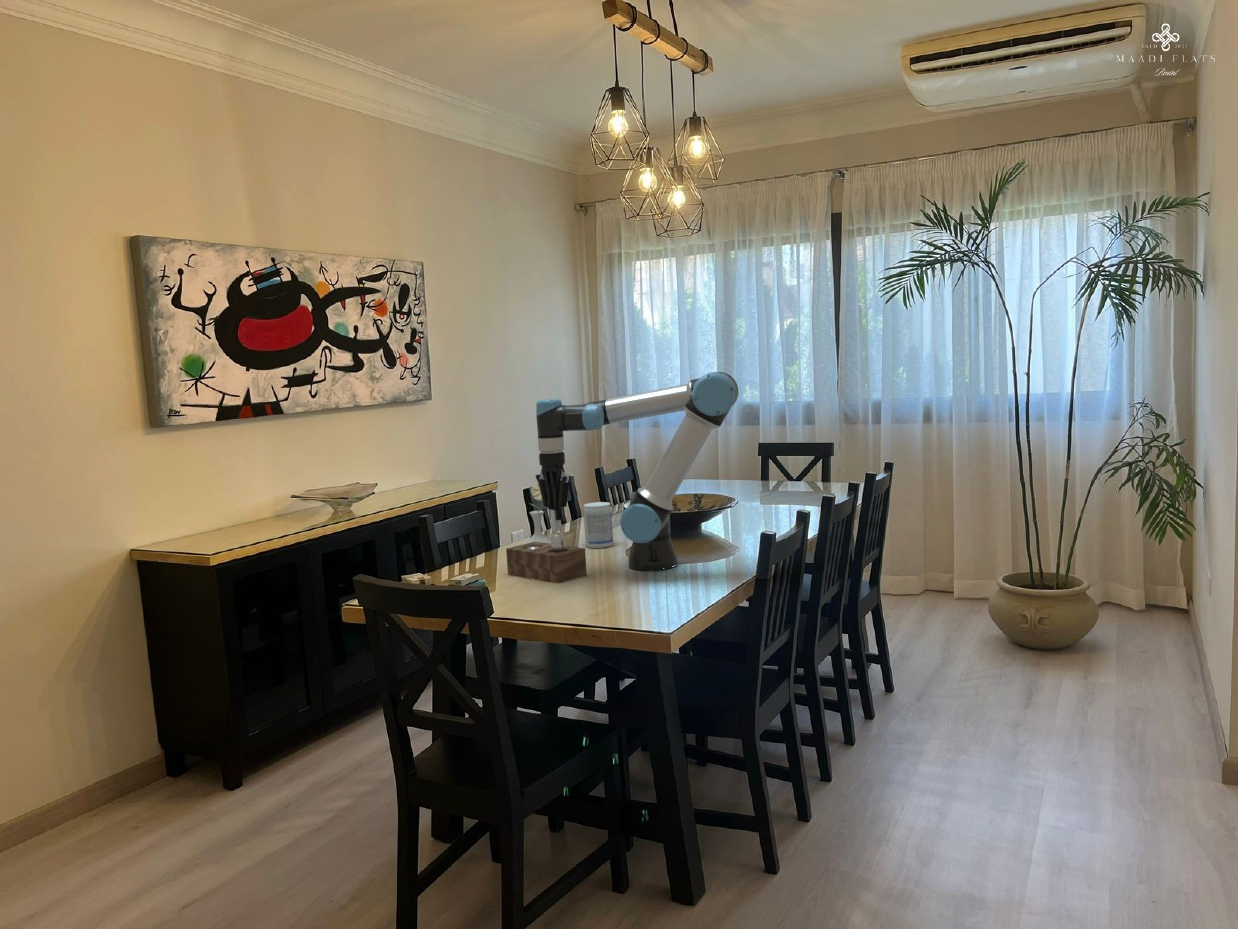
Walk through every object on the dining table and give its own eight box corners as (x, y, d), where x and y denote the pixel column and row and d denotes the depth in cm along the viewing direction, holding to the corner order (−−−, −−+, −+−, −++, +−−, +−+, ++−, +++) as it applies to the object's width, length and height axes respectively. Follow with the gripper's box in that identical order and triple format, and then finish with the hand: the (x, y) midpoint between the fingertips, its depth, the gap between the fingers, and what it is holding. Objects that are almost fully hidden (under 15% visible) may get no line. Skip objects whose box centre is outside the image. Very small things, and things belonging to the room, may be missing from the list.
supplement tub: (618, 545, 313) (616, 503, 312) (595, 550, 308) (592, 507, 307) (603, 542, 322) (601, 500, 320) (580, 546, 316) (577, 504, 315)
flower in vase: (517, 555, 307) (511, 481, 304) (530, 548, 317) (526, 477, 315) (552, 556, 302) (548, 481, 300) (565, 548, 313) (561, 476, 310)
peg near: (567, 557, 272) (566, 533, 271) (558, 560, 269) (556, 535, 268) (558, 556, 275) (557, 532, 274) (548, 559, 272) (547, 534, 271)
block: (586, 574, 273) (585, 548, 272) (557, 583, 264) (556, 556, 264) (536, 566, 288) (535, 541, 287) (507, 574, 279) (506, 548, 278)
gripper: (576, 451, 267) (581, 530, 269) (545, 449, 276) (550, 526, 278) (557, 453, 261) (562, 534, 264) (527, 452, 270) (532, 531, 273)
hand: (556, 530), depth 271 cm, fingers closed
